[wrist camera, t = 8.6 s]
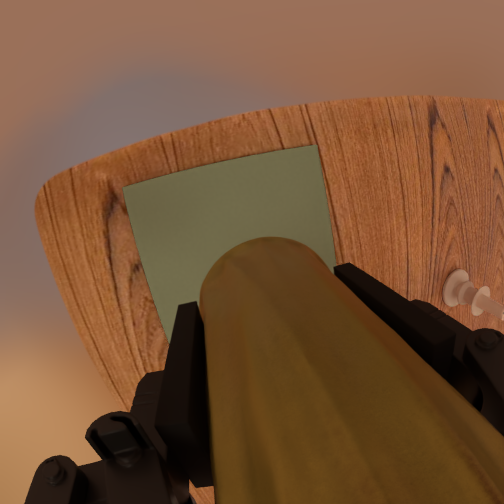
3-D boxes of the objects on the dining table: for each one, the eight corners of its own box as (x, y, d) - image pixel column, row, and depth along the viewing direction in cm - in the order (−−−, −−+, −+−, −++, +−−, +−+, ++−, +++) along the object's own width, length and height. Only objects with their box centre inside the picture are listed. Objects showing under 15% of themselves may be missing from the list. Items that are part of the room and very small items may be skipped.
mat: (124, 187, 25) (121, 187, 24) (314, 145, 27) (316, 144, 26) (198, 408, 32) (198, 413, 31) (343, 371, 33) (345, 375, 33)
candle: (437, 287, 33) (493, 319, 23) (461, 260, 32) (518, 284, 22) (448, 312, 34) (498, 345, 24) (470, 286, 34) (521, 313, 24)
